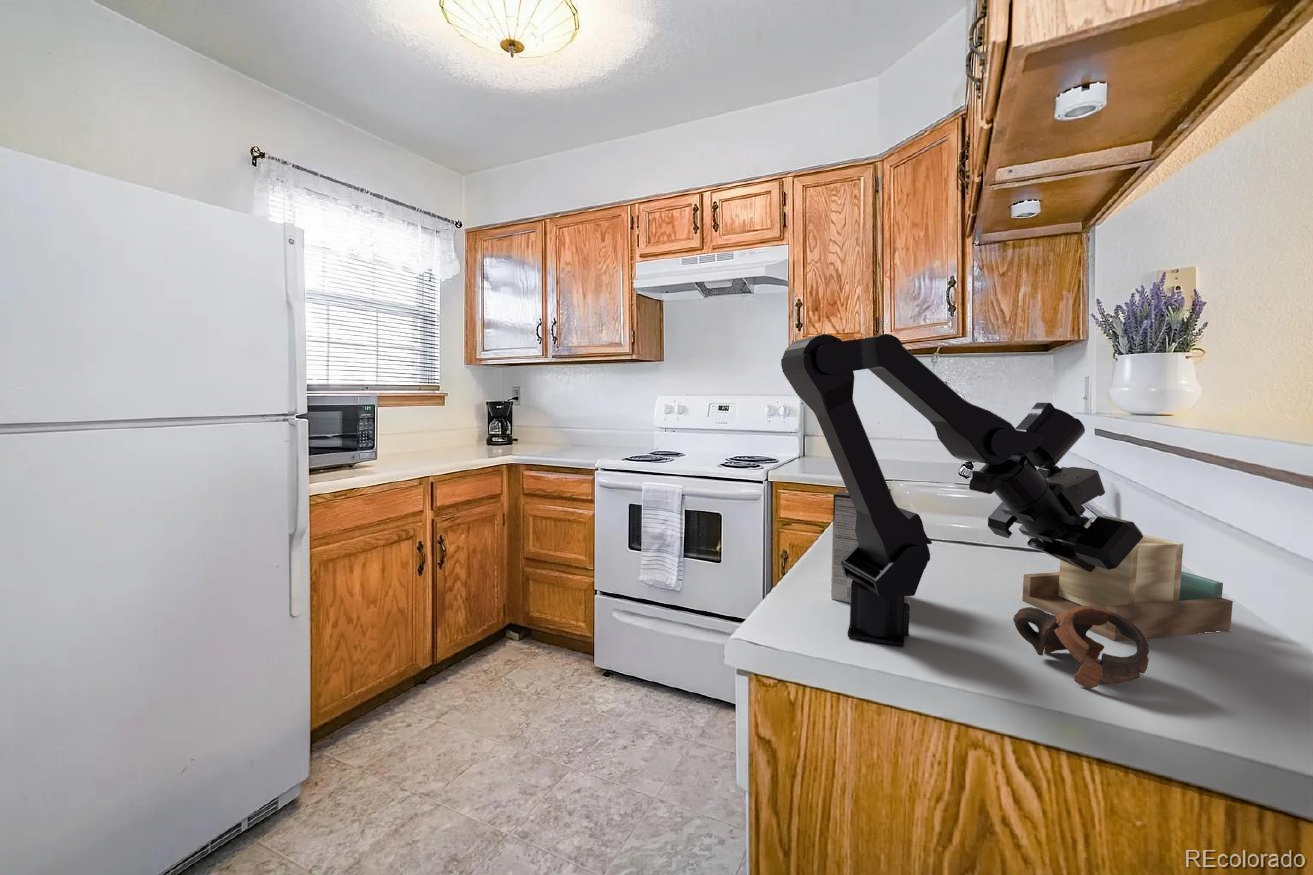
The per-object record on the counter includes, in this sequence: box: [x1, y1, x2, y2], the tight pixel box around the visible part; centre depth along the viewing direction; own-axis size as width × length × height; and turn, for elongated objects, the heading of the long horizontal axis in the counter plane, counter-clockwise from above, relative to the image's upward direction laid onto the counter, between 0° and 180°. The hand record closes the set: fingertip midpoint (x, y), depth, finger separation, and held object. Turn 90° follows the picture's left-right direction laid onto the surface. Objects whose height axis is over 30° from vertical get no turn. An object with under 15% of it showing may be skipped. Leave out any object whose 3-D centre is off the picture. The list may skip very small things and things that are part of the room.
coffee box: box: [830, 487, 891, 603], centre depth 85 cm, size 9×6×16 cm
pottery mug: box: [1012, 606, 1150, 690], centre depth 62 cm, size 12×10×8 cm
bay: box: [1022, 570, 1234, 642], centre depth 78 cm, size 18×14×6 cm
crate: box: [1058, 534, 1184, 610], centre depth 77 cm, size 8×10×10 cm
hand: (1090, 569), depth 76 cm, fingers closed, pressing on crate
